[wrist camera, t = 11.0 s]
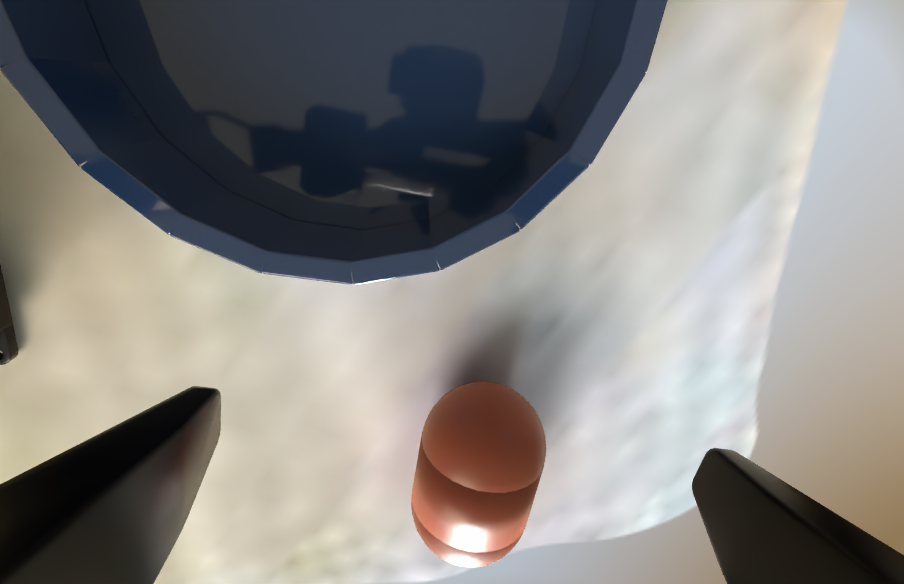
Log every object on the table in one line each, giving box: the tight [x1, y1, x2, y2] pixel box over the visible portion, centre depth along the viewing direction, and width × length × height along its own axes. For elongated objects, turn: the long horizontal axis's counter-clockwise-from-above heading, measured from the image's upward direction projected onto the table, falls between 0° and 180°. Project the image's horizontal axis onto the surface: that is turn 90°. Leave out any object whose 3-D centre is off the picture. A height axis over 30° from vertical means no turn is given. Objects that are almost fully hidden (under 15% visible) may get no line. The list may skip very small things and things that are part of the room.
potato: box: [411, 382, 546, 567], centre depth 20 cm, size 5×8×5 cm, turn 171°
